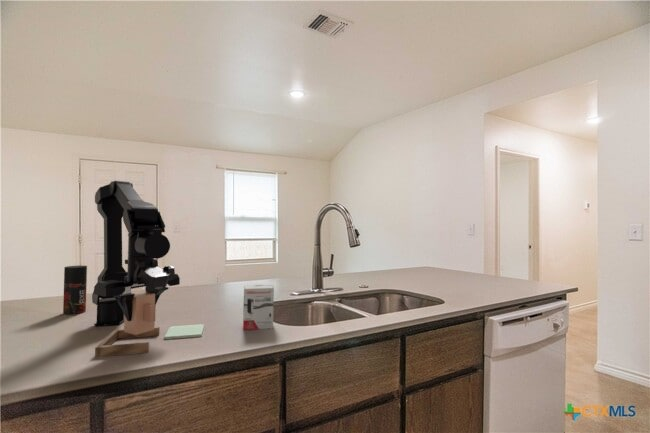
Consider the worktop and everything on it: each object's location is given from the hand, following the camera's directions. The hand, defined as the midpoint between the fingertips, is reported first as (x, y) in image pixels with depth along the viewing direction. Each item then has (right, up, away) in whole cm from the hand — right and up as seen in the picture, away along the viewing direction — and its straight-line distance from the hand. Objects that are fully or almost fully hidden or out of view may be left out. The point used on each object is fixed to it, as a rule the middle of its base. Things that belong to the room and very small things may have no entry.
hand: (139, 318), depth 83 cm
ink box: (+27, -7, +14) cm, 31 cm away
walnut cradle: (-1, -6, -1) cm, 6 cm away
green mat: (+8, -6, +8) cm, 13 cm away
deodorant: (-36, -6, +26) cm, 45 cm away
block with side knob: (+1, -3, -1) cm, 3 cm away
